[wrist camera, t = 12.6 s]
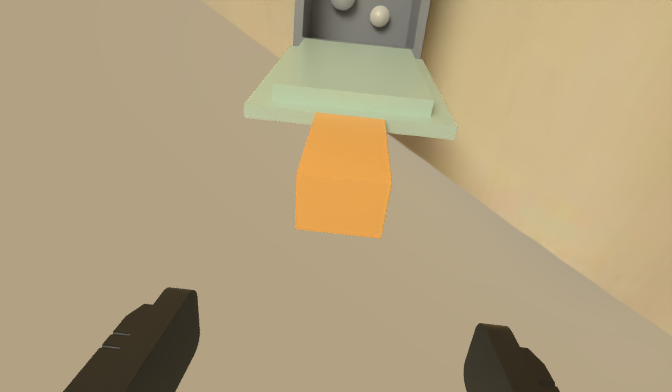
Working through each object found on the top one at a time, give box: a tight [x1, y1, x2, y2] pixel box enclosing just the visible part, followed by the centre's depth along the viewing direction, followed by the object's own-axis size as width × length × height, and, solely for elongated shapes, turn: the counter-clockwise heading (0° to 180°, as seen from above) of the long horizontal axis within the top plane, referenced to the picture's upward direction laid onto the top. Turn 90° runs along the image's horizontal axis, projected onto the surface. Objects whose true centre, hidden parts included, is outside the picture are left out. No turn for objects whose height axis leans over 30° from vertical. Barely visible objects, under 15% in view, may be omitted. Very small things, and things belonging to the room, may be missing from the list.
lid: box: [244, 38, 458, 238], centre depth 25 cm, size 12×23×4 cm
